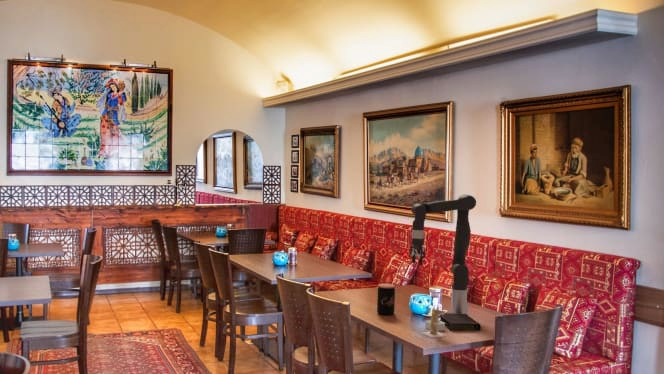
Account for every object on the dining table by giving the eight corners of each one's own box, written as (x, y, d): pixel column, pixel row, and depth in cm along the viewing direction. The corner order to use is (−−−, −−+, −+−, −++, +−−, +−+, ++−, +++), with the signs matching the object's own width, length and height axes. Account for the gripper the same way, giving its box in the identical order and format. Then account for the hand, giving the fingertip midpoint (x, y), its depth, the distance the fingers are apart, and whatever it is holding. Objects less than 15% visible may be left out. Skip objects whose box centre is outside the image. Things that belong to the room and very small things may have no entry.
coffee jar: (380, 316, 421) (381, 286, 420) (374, 312, 431) (375, 283, 430) (396, 315, 423) (397, 286, 423) (390, 311, 434) (391, 283, 433)
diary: (466, 321, 416) (467, 313, 415) (480, 332, 391) (481, 323, 391) (436, 321, 413) (437, 312, 413) (448, 331, 389) (449, 322, 388)
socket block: (437, 326, 398) (437, 319, 397) (444, 330, 390) (445, 323, 390) (425, 327, 394) (425, 320, 394) (432, 331, 387) (432, 324, 387)
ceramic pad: (436, 332, 384) (436, 331, 384) (445, 336, 376) (445, 335, 376) (422, 333, 381) (422, 332, 381) (431, 337, 372) (431, 336, 372)
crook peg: (429, 333, 377) (430, 310, 377) (431, 332, 381) (433, 309, 380) (441, 335, 374) (442, 311, 374) (443, 334, 378) (444, 310, 378)
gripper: (406, 236, 420) (405, 262, 421) (418, 238, 407) (417, 266, 408) (417, 235, 423) (416, 262, 424) (429, 238, 410) (428, 265, 411)
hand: (417, 264), depth 416 cm, fingers open, 8 cm apart
